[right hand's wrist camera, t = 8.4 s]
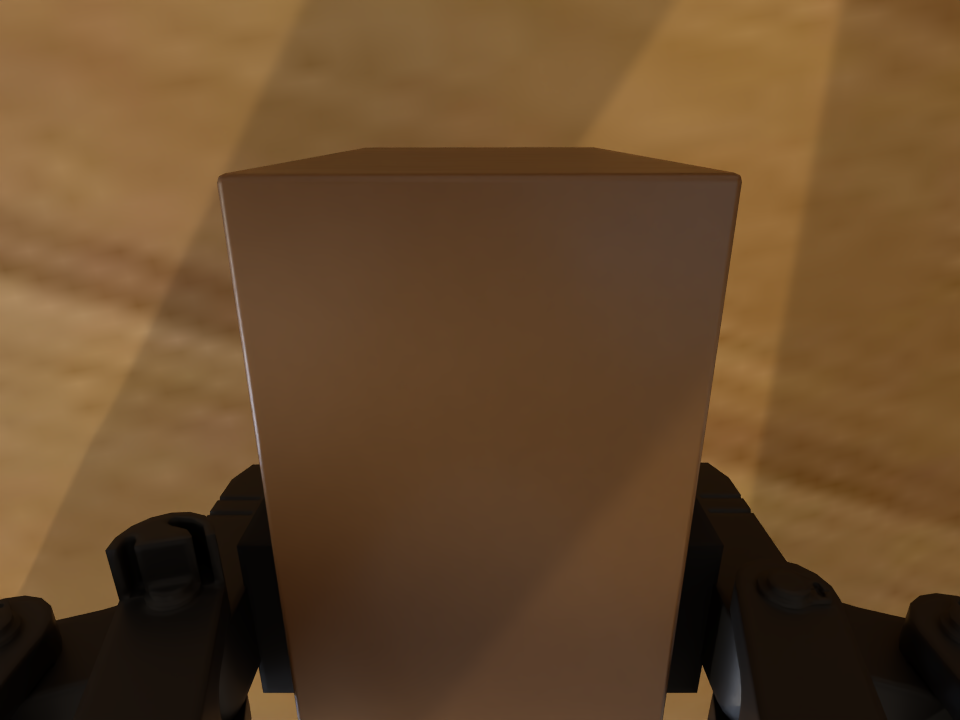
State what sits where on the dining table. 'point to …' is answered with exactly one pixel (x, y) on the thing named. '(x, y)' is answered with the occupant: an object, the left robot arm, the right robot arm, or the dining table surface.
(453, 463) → the bar
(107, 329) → the dining table surface
